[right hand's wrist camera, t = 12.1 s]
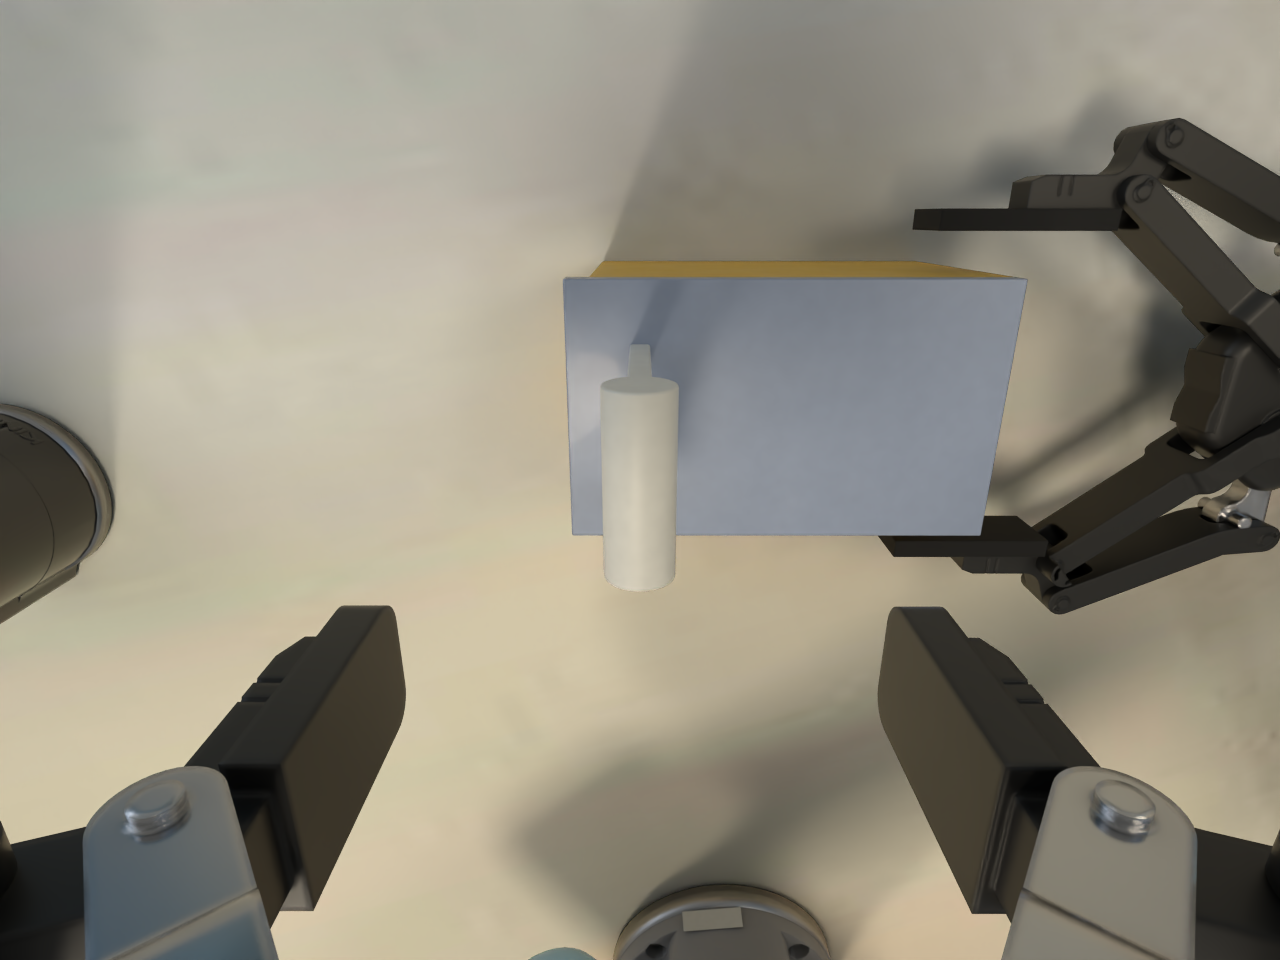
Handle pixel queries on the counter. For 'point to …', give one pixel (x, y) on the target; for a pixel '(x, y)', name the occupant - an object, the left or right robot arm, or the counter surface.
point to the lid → (781, 408)
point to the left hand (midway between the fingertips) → (902, 390)
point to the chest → (781, 269)
